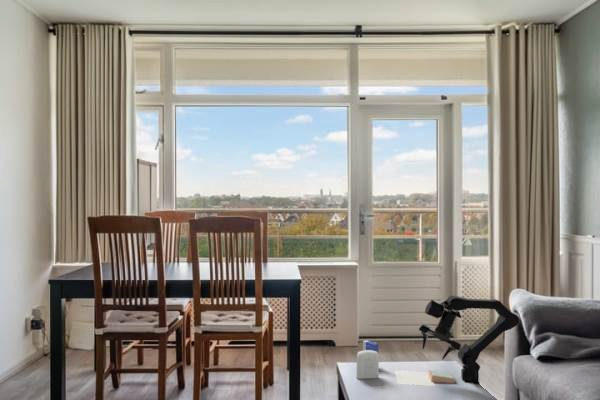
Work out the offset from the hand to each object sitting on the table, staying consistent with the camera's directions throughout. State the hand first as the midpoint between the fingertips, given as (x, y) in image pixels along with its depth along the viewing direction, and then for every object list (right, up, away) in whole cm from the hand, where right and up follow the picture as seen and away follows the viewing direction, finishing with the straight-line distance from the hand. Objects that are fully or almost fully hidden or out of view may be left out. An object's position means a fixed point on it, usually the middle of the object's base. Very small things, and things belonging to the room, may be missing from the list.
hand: (432, 354), depth 200 cm
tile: (-1, -10, 0) cm, 10 cm away
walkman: (-26, -12, +17) cm, 33 cm away
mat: (-8, -12, +1) cm, 14 cm away
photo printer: (-29, -12, +2) cm, 32 cm away
